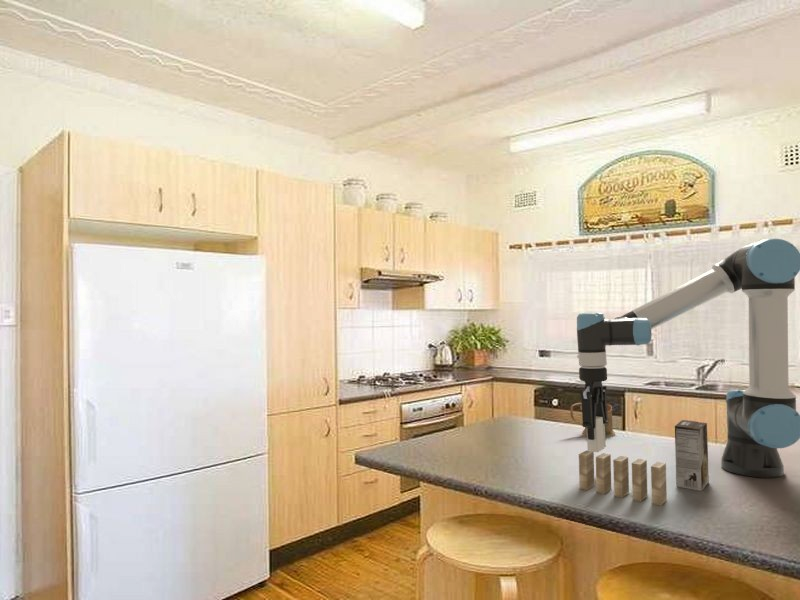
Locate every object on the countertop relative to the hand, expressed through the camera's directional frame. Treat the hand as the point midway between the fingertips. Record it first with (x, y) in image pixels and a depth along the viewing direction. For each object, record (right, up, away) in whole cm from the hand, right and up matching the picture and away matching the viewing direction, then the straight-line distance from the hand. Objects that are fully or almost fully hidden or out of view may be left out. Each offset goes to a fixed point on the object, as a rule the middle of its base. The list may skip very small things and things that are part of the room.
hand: (596, 448), depth 156 cm
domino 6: (+7, -7, -22) cm, 25 cm away
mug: (+16, -8, +48) cm, 51 cm away
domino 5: (+4, -7, -19) cm, 21 cm away
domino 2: (0, 0, 0) cm, 0 cm away
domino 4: (0, -7, -17) cm, 18 cm away
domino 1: (-6, -7, -11) cm, 14 cm away
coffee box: (+22, -7, -10) cm, 25 cm away
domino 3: (-3, -7, -14) cm, 16 cm away
